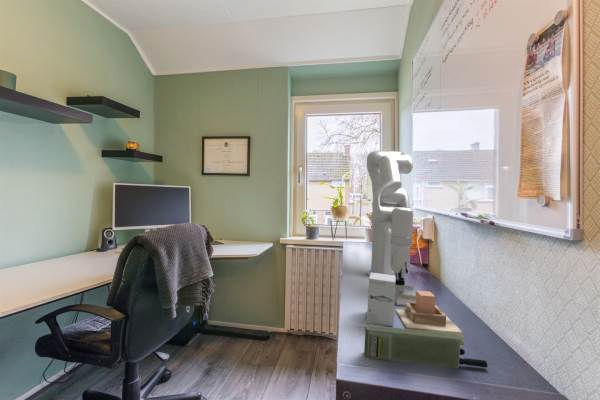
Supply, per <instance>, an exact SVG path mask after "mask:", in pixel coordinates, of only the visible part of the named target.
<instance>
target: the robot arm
mask: <svg viewBox="0 0 600 400" xmlns="http://www.w3.org/2000/svg"><path fill="white" fill-rule="evenodd" d="M413 167H414V163H413V160H412V157H411V156H410V155H409V154H408V153H405V152H403V151H392V150H375V151H371V152H370V153H368V154H367V156H366V169H367V173H368V176H369V177H370V180H371V181H370V182H371V191H372V192H371V193H372V201H371V208H372V209H371V210H372V211H371V214H370V219H371V230H372V232H371V233H372V235H371V236H372V238H371V239H372V240H371V241H372V242H371V262H370V263H371V265H370V267H371V268H370V270H368V271H367V275H368V276H369V277H370V273H371V272H372V273H379V274H386V275H394V276H396V284H401V285H406V284H405V283H406V278H407V276H406V275H408V274H410V269H411V264H410V263H411V252H410V249H411V247H412V246H413V232H414V231H413V230H414V229H413V227H414V225H413V224H414V210H413V209H411V207H410V199H409V195H408V194H409V193H408V192H407V190H406V189H405V188H403V187H402V186H403V185H402V184H403V183H402V177H401V175H402V174H405V175H408V174H410V173H411V172H412V171H413ZM389 229H390V230H389Z"/></svg>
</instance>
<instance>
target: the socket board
mask: <svg viewBox="0 0 600 400" xmlns="http://www.w3.org/2000/svg"><path fill="white" fill-rule="evenodd" d="M415 305H416V302H406V303H405V306H404V309H402V308H396V309H395V313H396V314H397V315H398V317H399V319H400V320H401V323H402V324H403V326H404V327H405V328H404V329H411V330H421V331H431V332H441V333H451V334H460V335H463V334H464V332H463V331H462V330H461V329H460V328H459V327H458V326H457V325H456V323H454V322H453V321H452V320H451V319H450V318H449V317H448V316H447V314H446V313H445V312H444V311H442V309H441V308H440V307H439V306H438V305H436V304H435V314H425V313H416V312H415ZM463 336H464V335H463Z"/></svg>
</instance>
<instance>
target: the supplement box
mask: <svg viewBox="0 0 600 400" xmlns="http://www.w3.org/2000/svg"><path fill="white" fill-rule="evenodd" d="M395 284H396V276H394V275H386V274H379V273H372V272H371V273H370V276H369V277H368V289H367V290H368V293H367V310H366V311H367V312H366V313H367V314H366V322H367V323H373V324H379V325H384V326H388V327H394V324H395V323H394V322H395Z"/></svg>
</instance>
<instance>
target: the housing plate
mask: <svg viewBox="0 0 600 400" xmlns="http://www.w3.org/2000/svg"><path fill="white" fill-rule="evenodd" d="M406 302H416V291H415V289H414V285H412V284H405V285H401V284H395V301H394V304H395V305H396V306H403V307H405V303H406Z"/></svg>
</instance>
